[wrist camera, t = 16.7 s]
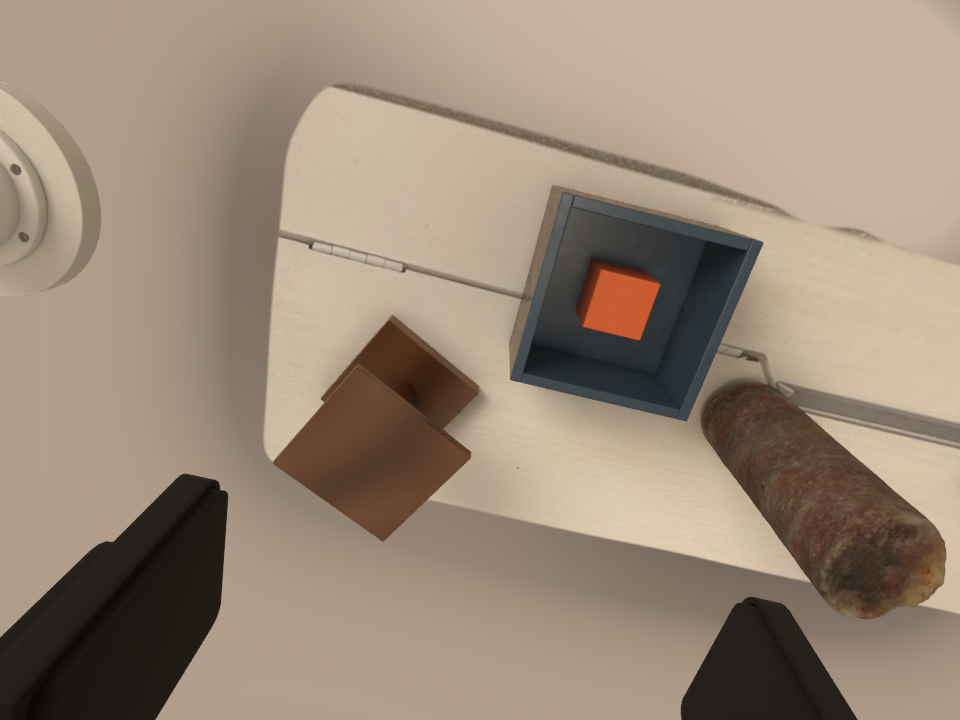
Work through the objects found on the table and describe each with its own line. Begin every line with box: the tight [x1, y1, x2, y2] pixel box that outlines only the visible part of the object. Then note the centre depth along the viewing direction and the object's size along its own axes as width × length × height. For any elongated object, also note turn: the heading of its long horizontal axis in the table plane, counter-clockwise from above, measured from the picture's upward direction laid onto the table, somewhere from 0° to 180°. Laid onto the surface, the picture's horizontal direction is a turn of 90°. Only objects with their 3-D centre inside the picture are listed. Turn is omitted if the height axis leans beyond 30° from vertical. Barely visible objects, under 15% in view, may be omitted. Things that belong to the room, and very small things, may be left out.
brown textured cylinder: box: [702, 383, 946, 619], centre depth 38 cm, size 8×7×20 cm
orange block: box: [576, 258, 661, 340], centre depth 41 cm, size 4×4×4 cm
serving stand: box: [273, 315, 479, 541], centre depth 42 cm, size 10×10×12 cm
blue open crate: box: [509, 185, 763, 421], centre depth 40 cm, size 14×14×8 cm
